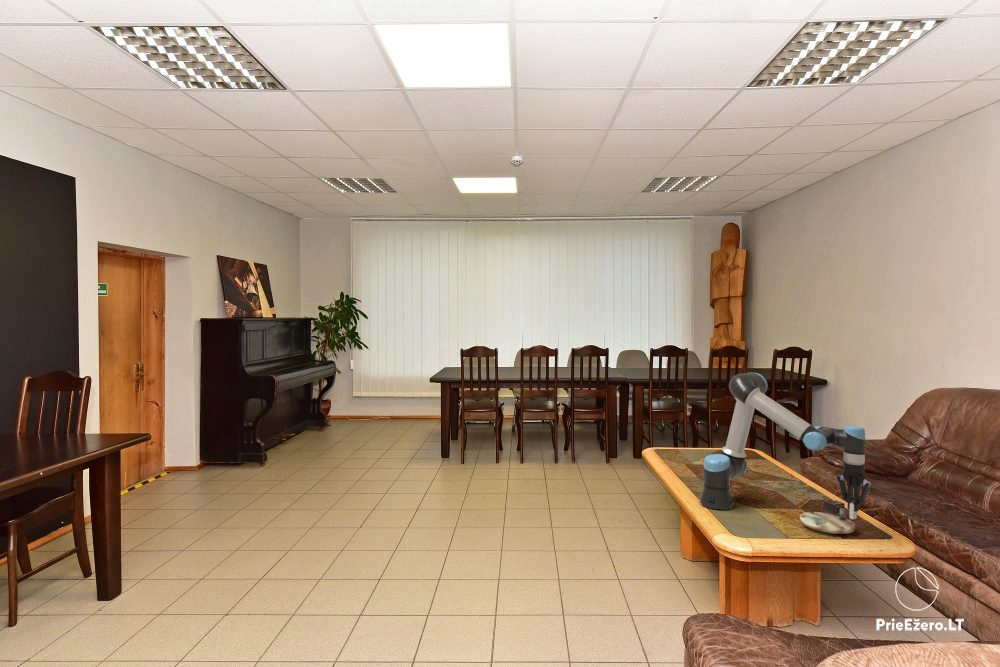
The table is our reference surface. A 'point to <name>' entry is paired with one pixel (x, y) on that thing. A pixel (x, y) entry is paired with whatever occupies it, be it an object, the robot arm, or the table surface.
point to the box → (832, 507)
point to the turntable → (828, 522)
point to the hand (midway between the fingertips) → (853, 518)
